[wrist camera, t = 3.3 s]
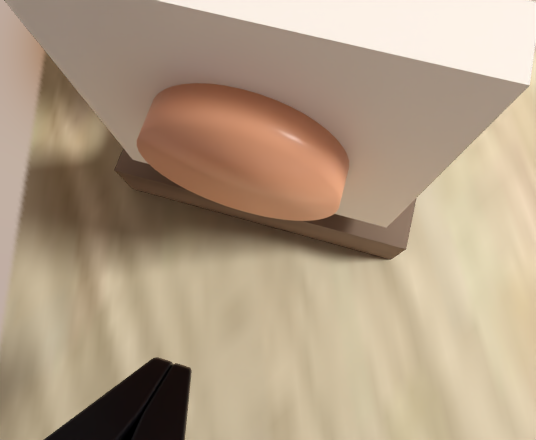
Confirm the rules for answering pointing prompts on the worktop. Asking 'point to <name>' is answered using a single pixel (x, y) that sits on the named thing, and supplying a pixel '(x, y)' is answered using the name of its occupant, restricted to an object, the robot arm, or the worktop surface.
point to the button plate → (293, 91)
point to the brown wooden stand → (326, 229)
